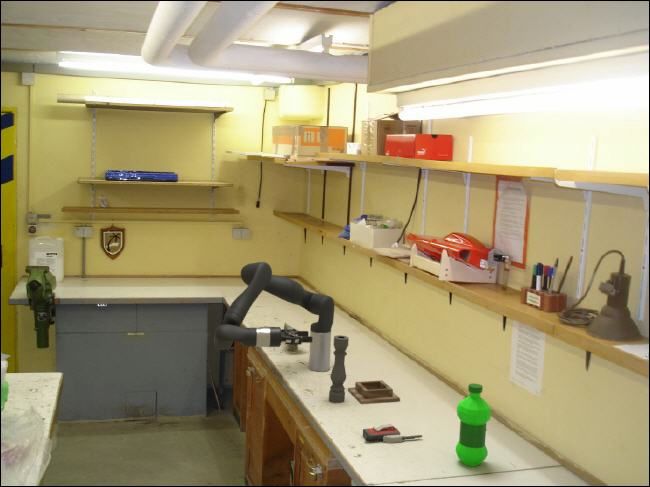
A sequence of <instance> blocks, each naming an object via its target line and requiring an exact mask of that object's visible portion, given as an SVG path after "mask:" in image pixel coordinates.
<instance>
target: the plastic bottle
mask: <svg viewBox="0 0 650 487" xmlns="http://www.w3.org/2000/svg"><path fill="white" fill-rule="evenodd" d="M483 388H484V387H483V385H482V384H479V383H469V384H468V387H467V391H468V392H469V395H468V396H467V397H465V398H463V400H461V401H460V402H458V404H457V406H456V414H457V416H458V419H459V420H460V422H459V424H460V425H459V439H458V442H457V444H456V446H455V453H456V456H457V457H458V459H459V460H460V461H461V462H462V464H464V465H466V466H468V467H477V466H479V465H480V464H482V463H483V462H484V461H485V460H486V459H487V456H488V454H489V453H488V448H487V446H486V434H487V433H486V432H487V423H488V422H489V421H490V420H491V417H492V408H491V407H490V405H489V404H488V403H487V402H486V401H485V400H484V398H483V397H481V394H482V393H483Z"/></svg>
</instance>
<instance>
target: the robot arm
mask: <svg viewBox="0 0 650 487" xmlns="http://www.w3.org/2000/svg"><path fill="white" fill-rule="evenodd" d="M240 279H241V280H242V282H243V283H244V284H245V285H246V286H247V287H246V288H245V289H244V290H243V291H242V292H241V293H240V294H239V295H238V296H237V297H236V298H235V299H234V300H233V301H232V302H231V303H230V305H229V308H227V311H226V313H225V314H224V317H223V321H222V323H221V325H219V326H217V327H216V329H215V331H214V335H213V336H214V337H213V343H214V346H215V347H216V349H218V350H220V351H226V350H228V349H229V348H231V347H232V345H233V344H234V342H235V343H239V344H240V345H241V346H242V347H257V348H280V347H281V345H282V342H283V343H285V345H287V346H288V345H298V346H301V345H302V344H305V343H309V359H308V364H309V365H308V369H309V370H311V371H312V372H327V371H330V369H331V351H332V350H331V348H332V347H331V346H332V343H331V342H332V328H333V325H334V316H335V301H334V299H333V297H332V296H329V295H326V294H321V293H316V292H312V291H309V290H306V289H305V288H304V286H303V285H302V284H301V283H300V282H298V281H296V280H294V279H291V278H290V277H286V276H280V275H275V274H273V270H272V267H271V265H270V264H269V263H267V262H265V261H259V262H257V261H256V262H252V263H248V264H246V265H244V266H243V267H242V268H241V270H240ZM263 291H264V292H266V293H268V294H270V295H273V296H275V297H277V298H279V299H280V300H283V301H286V302H288V303H290V304H292V305H296V306H299V307H301V308H303V309H305V310H306V311H307V312H309V313H311V314H312V315H316V316H318V319H317V321H315V322H312V323H311V324H310V334H309V331H308V330H299V329H297V330H296V328H295V329H284V328H281V326H259V327H243V326H241V325H242V323H243V322H244V320H245V318H246V316H247V314H248V312H249V310H250V309H251V307H252V306H253V304H254V303H255V302H256V300H257V299H258V297H259V296H260V295H261V293H262V292H263ZM298 330H299V332H298ZM297 339H298V340H297Z"/></svg>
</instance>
